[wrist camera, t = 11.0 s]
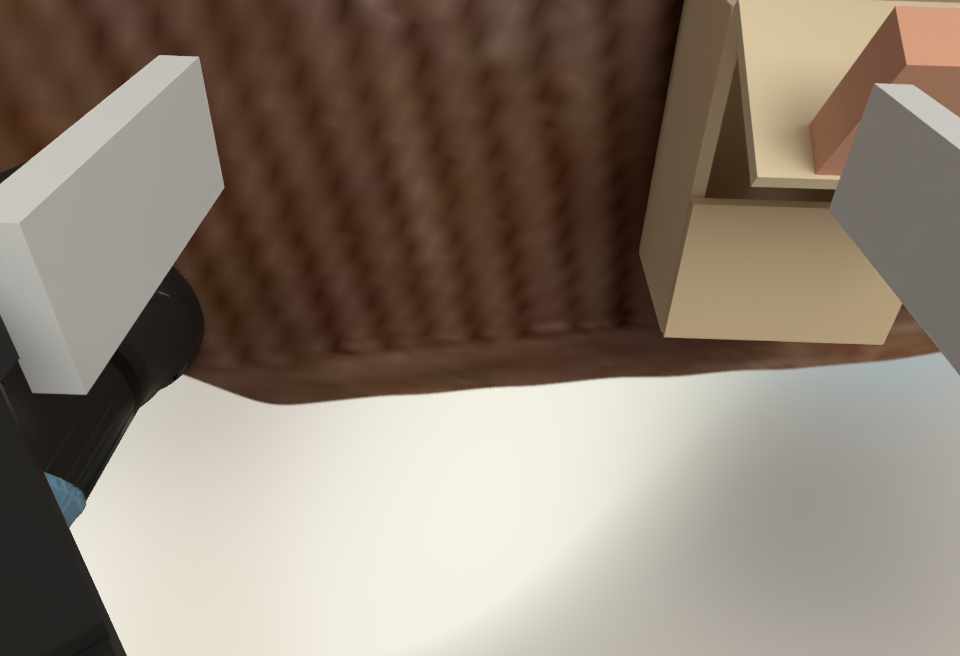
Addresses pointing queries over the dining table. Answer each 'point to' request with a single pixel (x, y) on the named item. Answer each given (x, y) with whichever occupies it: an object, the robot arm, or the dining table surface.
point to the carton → (744, 219)
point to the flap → (832, 76)
